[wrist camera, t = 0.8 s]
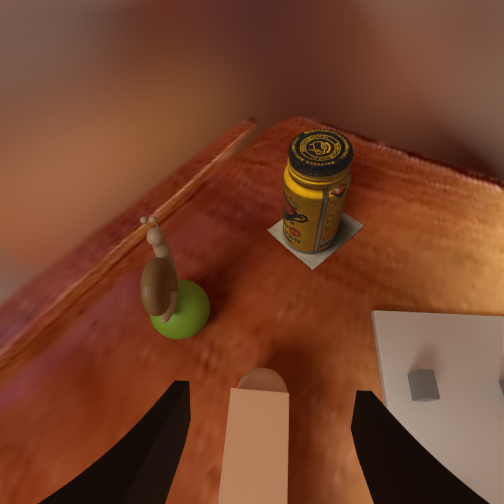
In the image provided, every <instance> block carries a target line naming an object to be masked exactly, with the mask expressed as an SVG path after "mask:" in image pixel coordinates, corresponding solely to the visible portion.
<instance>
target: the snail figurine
mask: <svg viewBox="0 0 504 504" xmlns="http://www.w3.org/2000/svg"><path fill="white" fill-rule="evenodd" d="M140 221H141V223H143V224H147V222H148V218H147V217H141V219H140ZM149 221H150V222H151V223H155V224H156V221H157V218H156V217H155V216H151V217H150V218H149ZM147 226H148V224H147ZM156 226H157V224H156ZM148 228H149V231H148V233H147V240H148V242H149V243H150V244H151V245H152V246H153V249H154V252H155V254H156V257H157V258H154V259H151V260H150V261H149V262H148V263H147V264H146V266H145V268H144V271H143V274H142V278H141V297H142V302H143V305H144V307H145V309H146V311H147V312H148V313H149V314H150V318H151V321H152V323H153V325H154V327H155V328H156V329H157V331H158V332H160V333H161V334H162V335H164V336H166V337H168V338H171V339H186V338H189V337H192V336H194V335H195V334H197V333H198V332H199V331H200V330H201V329H202V328H203V327H204V326H205V324H206V322H207V320H208V318H209V314H210V302H209V299H208V296H207V294H206V293H205V291H204V290H203V289H202V288H201V287H200V286H199V285H198V284H196V283H194V282H192V281H188V280H177V270H176V266H175V262H174V259H173V255H172V253H171V250H170V248H169V246H168V244H167V243H166V241H165V237H164V233H163V231H162V230H161V229H159V228H158V226H157V227H153V228H151V229H150V227H149V226H148Z"/></svg>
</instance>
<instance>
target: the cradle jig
mask: <svg viewBox="0 0 504 504" xmlns="http://www.w3.org/2000/svg"><path fill="white" fill-rule="evenodd" d="M371 317H372V324H373V331H374V339H375V346H376V353H377V360H378V367H379V374H380V381H381V388H382V395H383V402H384V406H385V407H386V408H387V409H388V410H389V411H390V412H391V413H392V414H393V416H394V417H395V418H396V419H397V420H398V421H399V422H400V423H401V424H402V425H403V426H404V427H405V428H406V430H407V431H408V432H409V433H410V434H411V435H412V436H413V437H414V438H415V439H416V440H417V441H418V442H419V443H420V444H421V445H422V446H423V447H424V448H425V449H426V450H427V451H429V452H430V453H431V454H432V455H433V456H434V457H435V458H436V459H437V460H438V461H439V462H440V463H441V464H442V465H444V466H445V467H446V468H447V469H448V470H449V471H450V472H452V473H453V474H454V475H455V476H456V477H457V478H459V479H460V480H461V481H462V482H463V483H464V484H466V485H467V486H468V487H469V488H471V489H472V490H473V491H474V492H476V493H477V494H478V495H479V496H481V497H482V498H483V499H485V500H486V501H487V502H489V503H490V504H504V316H484V315H463V314H441V313H420V312H399V311H378V310H373V311H372V312H371Z"/></svg>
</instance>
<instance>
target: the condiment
mask: <svg viewBox="0 0 504 504" xmlns="http://www.w3.org/2000/svg"><path fill="white" fill-rule="evenodd" d="M288 152H289V153H288V155H289V158H288V165H287V166H286V168H285V171H284V179H283V184H284V186H283V187H284V190H283V192H284V194H283V219H282V220H281V221H280V222H278V223H277V224H275V225H274V226H273V227H271V228H270V229H268V231H269V232H270V233H271V234H272V235H273V236H274V237H275V238H277V239H278V240H279V241H280V242H281V243H282V244H283V245H284V246H285V247H286V248H288V249H289V250H290V251H291V252H292V253H293V254H295V255H296V256H297V257H298V258H299V259H300V260H302V261H303V262H304V263H305V264H307V265H308V266H309V267H310V268H311V269H312V270H313V269H314V268H316V267H317V266H318V265H319V264H320V263H322V262H323V261H324V260H325V259H326V258H327V257H329V256H330V255H331V254H332V253H333V252H334V251H336V250H337V249H338V248H339V247H340V246H341V245H342V244H343V243H345V242H346V241H347V240H348V239H349V238H351V237H352V236H353V235H354V234H355V233H356V232H357V231H358V230H360V229H361V228H362V227H363V226H364V225H363V224H361V223H360V222H358V221H356V220H355V219H353V218H352V217H350V216H349V215H347V214H345V213H344V212H343V209H344V204H345V201H346V198H347V194H348V190H349V187H350V183H351V177H352V176H351V171H350V170H351V161H352V160H353V159H352V157H353V149H352V146H351V143H350V142H349V140H348V138H346V137H345V136H344V135H343V134H340V133H339V132H335V131H333V130H328V129H313V130H308V131H305V132H303V133H301V134H299V135H298V136H297V137H295V138H294V139H293V141H292V143H291V145H290V146H289V151H288Z"/></svg>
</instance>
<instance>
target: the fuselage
mask: <svg viewBox="0 0 504 504" xmlns="http://www.w3.org/2000/svg"><path fill="white" fill-rule="evenodd" d="M288 433H289V393H288V391H287V387H286V385H285V382H284V381H283V379H282V378H281V376H280V375H279V374H278V373H276V372H275V371H273V370H271V369H268V368H255V369H252V370H250V371H249V372H247V373H246V374H245V375H244V376H243V377H242V379H241V380H240V382H239V384H238V387H237V389H236V388H231V394H230V403H229V412H228V421H227V429H226V438H225V447H224V456H223V464H222V473H221V482H220V491H219V500H218V504H287V490H288Z"/></svg>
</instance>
